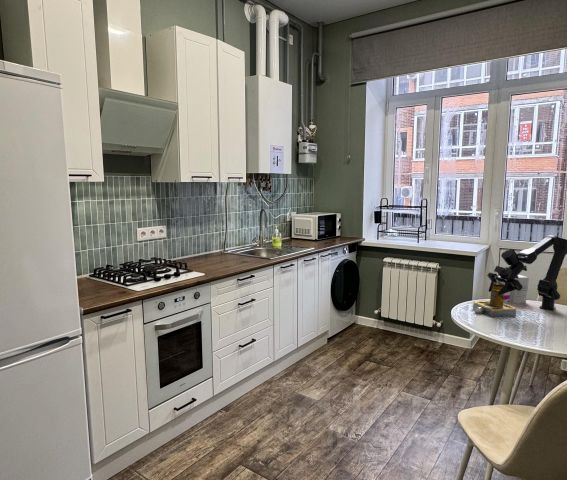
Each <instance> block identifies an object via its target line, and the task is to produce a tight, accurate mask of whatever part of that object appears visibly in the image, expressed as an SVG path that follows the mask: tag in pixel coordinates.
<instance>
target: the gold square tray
mask: <svg viewBox="0 0 567 480" xmlns="http://www.w3.org/2000/svg"><path fill="white" fill-rule="evenodd" d="M483 303H490V300H477V301H476V300H475V301H473V303H472V309H473V312H474V313H475V314H484V315H486V316H489V317H492V318H502V317H516V316H517V307H514V306H511V305H509V304H504V303H503V307H506V308H490V307H488V306H486V305H484V304H483Z"/></svg>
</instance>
